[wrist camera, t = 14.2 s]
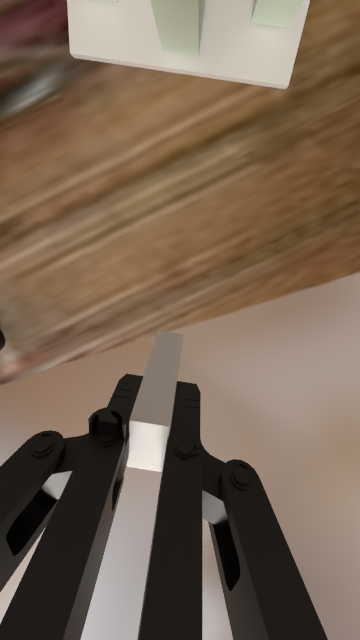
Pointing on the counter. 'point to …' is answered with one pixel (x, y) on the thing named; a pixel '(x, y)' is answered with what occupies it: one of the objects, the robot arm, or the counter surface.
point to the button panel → (215, 44)
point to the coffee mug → (2, 340)
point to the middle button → (179, 24)
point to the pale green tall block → (275, 12)
